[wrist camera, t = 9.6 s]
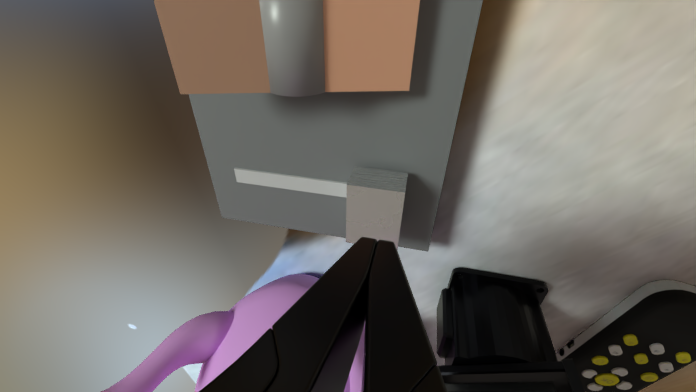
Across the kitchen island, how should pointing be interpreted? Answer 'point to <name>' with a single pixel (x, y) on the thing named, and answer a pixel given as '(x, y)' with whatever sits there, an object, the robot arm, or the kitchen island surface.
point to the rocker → (289, 45)
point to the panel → (343, 137)
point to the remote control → (637, 339)
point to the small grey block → (375, 204)
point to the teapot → (226, 338)
